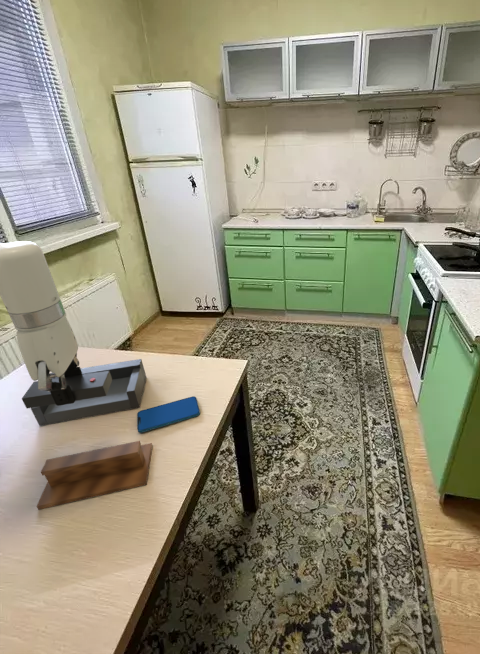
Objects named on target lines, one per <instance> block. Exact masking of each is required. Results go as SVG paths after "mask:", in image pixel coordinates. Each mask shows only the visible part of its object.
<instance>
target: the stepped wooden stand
mask: <svg viewBox="0 0 480 654" xmlns="http://www.w3.org/2000/svg"><path fill="white" fill-rule="evenodd" d="M152 453H153V443H152V442H149V443H145V444H142V443H141V440H136V441H131V442H126V443H122V444H117V445H111V446H107V447H102V448H97V449H92V450H87V451H83V452H78V453H73V454H68V455H63V456H58V457H53V458H48V459H46V460H45V461H44V463H43V466H42V468H41V471H40V474H41V476H44V477H45V480H46V481H47V482H46V484H45V487H44V489H43V491H42V493H41V496H40V498H39V500H38V502H37V505H36V508H37V510H38V511H39V510H43V509H48V508H52V507H56V506H60V505H65V504H69V503H75V502H78V501H82V500H86V499H90V498H95V497H100V496H104V495H109V494H113V493H117V492H122V491H126V490H130V489H133V488H139V487H142V486H147V485H148V479H149V472H150V465H151V460H152Z"/></svg>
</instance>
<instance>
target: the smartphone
mask: <svg viewBox="0 0 480 654" xmlns="http://www.w3.org/2000/svg"><path fill="white" fill-rule="evenodd" d="M199 415H201V410H200V406H199V404H198V398H197V397H196V396H195V395H193V396H189V397H185V398H181V399H178V400H175V401H170V402H167V403H162V404H160V405H156V406H153V407H149V408H145V409H141V410H139V411H138V412H136V427H137V432H138V433H140V434H141V433H144V432H148V431H152V430H155V429H158V428H162V427H166V426H169V425H172V424H175V423H179V422H182V421H186V420H189V419H192V418H196V417H198V416H199Z"/></svg>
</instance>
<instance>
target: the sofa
mask: <svg viewBox="0 0 480 654" xmlns="http://www.w3.org/2000/svg"><path fill="white" fill-rule="evenodd" d="M80 369H81V371H82V374H89V373H96V372H103V371H110V374H111V377H112V382H111V385H110V387H109V390H108V392H107V395H106V396H102V397H96V398H89V399H83V400H77V401H75V402H74V403H72V404H65V405H59V406H58V405H56V404H52V405H46V406H40V407H33V408H30V410H31V412H32V414H33V416H34V418H35V420H36V422H37V424H38V426H39V427H43V426H48V425H52V424H53V425H54V424H58V423H64V422H69V421H75V420H76V421H77V420H80V419H81V420H82V419H85V418H91V417H97V416H101V415H103V416H104V415H106V414H113V413H119V412H125V411H130V410H135V409H140V408H141V403H142V399H143V395H144V390H145V386H146V383H147V375H146V371H145V367H144V363H143V359H142V358H138V359H137V358H136V359H132V360H125V361H119V362H113V363H106V364H99V365H93V366H87V367H80ZM51 373H52V372H50V374H51ZM57 378H58V377H57ZM51 379H56V378H51Z"/></svg>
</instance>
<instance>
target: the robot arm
mask: <svg viewBox="0 0 480 654" xmlns="http://www.w3.org/2000/svg"><path fill="white" fill-rule="evenodd" d="M0 298H1V300H2V303H3V305H4V307H5V309H6V311H7V313H8V315H9V317H10V320H11V322H12V324H13V326H14V328H15V330H16V340H17V343H18V348H19V351H20V354H21V356H22V360H23V362H24V365H25V367H26V370H27V372H28V375H29V377H30V378H31V380H32V381H33V382H35V381H38V389H39V390H47V391H48V392H51V395H52V397H53V399H54V401H55V404H56V405H58V406H59V405H65V404H72V403H74V402H75V398H74V395H73V393H72V391H71V388H70V386H69V385H66V381H65V377H69V376H76V375H83V374H82V371H81V369H80V368H81V366H80V360H79V359H78V356H77V355H78V351H79V345H78V342H77V339H76V335H75V334H74V332H73V329H72V326H71V325H70V322H69V320H68V318H67V313H66V310H65V307H64V305H63V302H62V299H61V297H60V294H59V291H58V289H57V285H56V283H55V281H54V278H53V276H52V272H51V269H50V266H49V264H48V262H47V259H46V256H45V254H44V251H43V250H42V247H41V246H39V245H38V244H37V243H35V242H32V241H23V240H22V241H11V242H6V243H5V242H0ZM50 373H51V374H50ZM57 377H58V379H59V382H52V379H51V378H57Z"/></svg>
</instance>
